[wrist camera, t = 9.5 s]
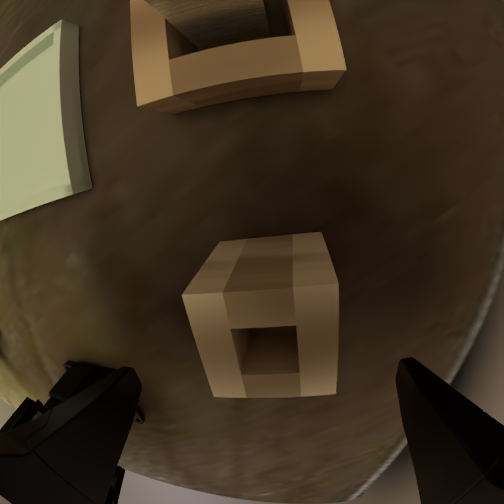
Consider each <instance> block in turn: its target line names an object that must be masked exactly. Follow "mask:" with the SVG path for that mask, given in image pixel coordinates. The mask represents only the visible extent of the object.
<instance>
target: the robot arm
mask: <svg viewBox="0 0 504 504" xmlns="http://www.w3.org/2000/svg"><path fill="white" fill-rule="evenodd" d="M64 368H65V370H66V372H65V374H64V375H63V376H62V377H61V378H60V380H59V381H58V382H57V383H56V384H55V386H54V387H53V388H52V389H51V390H50V392H49V396H50V398H49V400H48V401H47V402H46V403H45V405H44V406H43V404H42V403H41V402H40V401H39V400H37V401H36V402H34V401H33V400H31V399H30V398H28V397H27V398H26V399H25V400H24V401H23V402H22V404H21V405H20V406H19V407H18V408H17V410H16V411H15V412H14V413H13V414H12V416H11V417H10V418H9V420H8V421H7V422H6V423H5V424H4V426H3V427H2V428H1V429H0V504H118V499H119V495H120V490H121V486H122V481H123V477H124V473H125V469H123V468H122V467H120V466H117V465H118V462H119V459H120V456H121V453H122V451H123V448H124V445H125V442H126V440H127V437H128V434H129V431H130V429H131V426H132V423H133V422H135V423H140V424H143V423H144V421H145V418H144V416H143V415H142V413H141V412H140V410H139V408H138V407H137V404H138V401H139V397H140V393H141V389H142V385H141V382H140V380H139V378H138V376H137V374H136V372H135V370H134V369H133V368H132V367H125V366H124V367H121V368H119V369H118V370H116V371H114V370H110V369H104V368H98V367H92V366H87V365H82V364H77V363H72V362H66V363H65V364H64ZM396 387H397V393H398V398H399V404H400V411H401V417H402V423H403V427H404V431H405V434H406V438H407V442H408V446H409V450H410V454H411V458H412V462H413V466H414V470H415V475H416V480H417V485H418V489H419V495H420V500H421V504H504V426H503V425H502V424H501V423H499V422H498V421H497V420H495V419H494V418H492V417H491V416H490V415H488V414H487V413H486V412H483V410H482V409H481V408H479V407H478V406H477V405H475V404H474V403H473V402H471V401H470V400H469V399H467V398H466V397H465V396H463V395H462V394H461V393H460V392H458V391H457V390H456V389H454V388H453V387H452V386H450V385H449V384H448V383H446V382H445V381H444V380H442V379H441V378H440V377H438V376H437V375H436V374H434V373H433V372H432V371H430V370H429V369H428V368H426V367H425V366H424V365H422V364H421V363H420V362H418V361H417V360H416V359H414V358H413V357H409V358H403V359H401V360H400V362H399V365H398V370H397V374H396Z"/></svg>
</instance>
